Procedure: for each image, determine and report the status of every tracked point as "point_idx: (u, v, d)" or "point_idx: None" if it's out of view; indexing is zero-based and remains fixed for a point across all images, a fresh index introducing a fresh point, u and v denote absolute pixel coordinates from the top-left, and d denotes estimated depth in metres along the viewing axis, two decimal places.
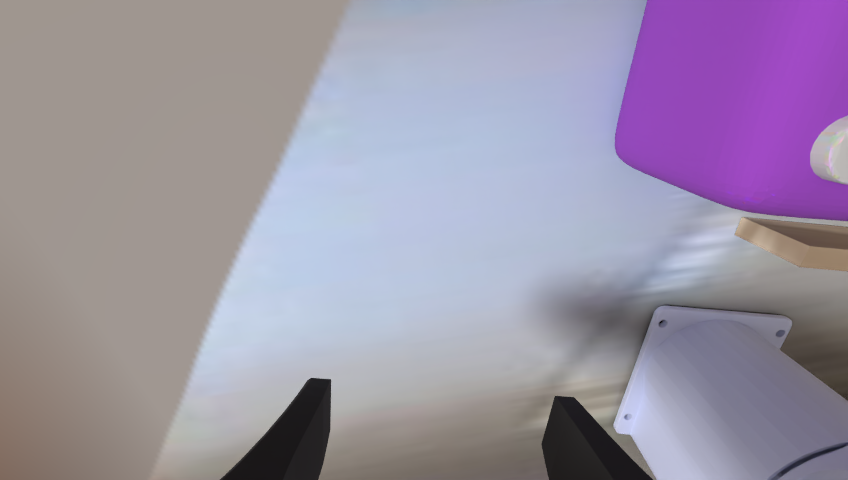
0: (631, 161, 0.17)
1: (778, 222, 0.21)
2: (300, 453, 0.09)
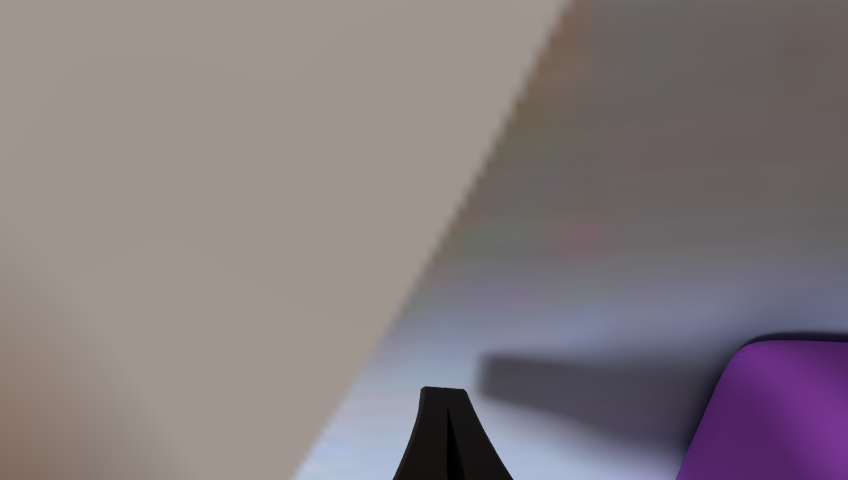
0: None
1: None
2: None
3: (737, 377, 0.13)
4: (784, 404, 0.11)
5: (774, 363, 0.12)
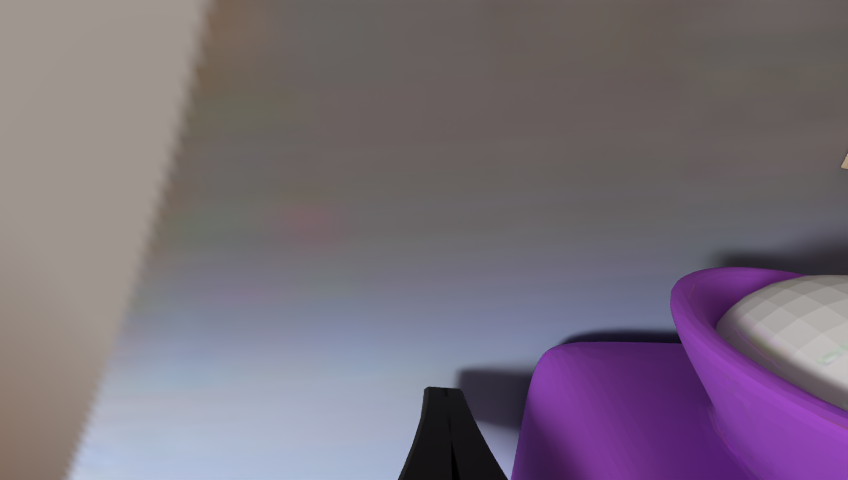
0: None
1: None
2: None
3: (533, 384, 0.12)
4: (553, 416, 0.10)
5: (559, 369, 0.11)
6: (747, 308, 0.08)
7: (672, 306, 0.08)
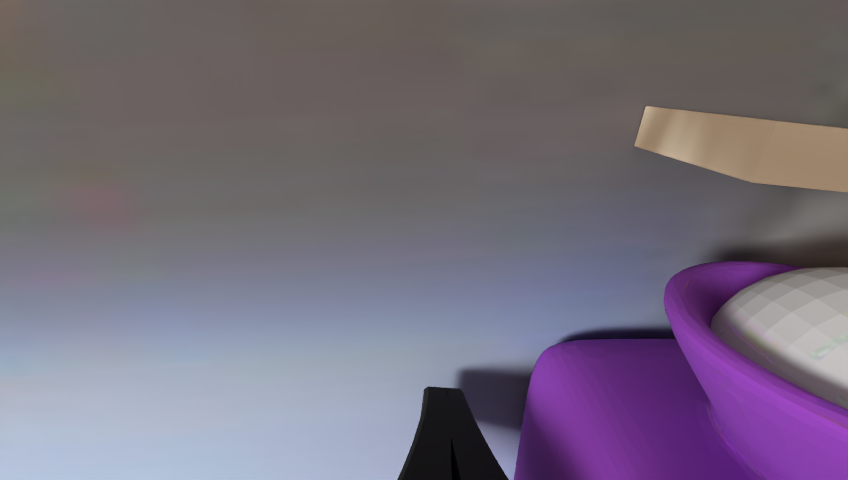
0: None
1: None
2: None
3: (532, 384, 0.12)
4: (551, 416, 0.10)
5: (557, 367, 0.11)
6: (741, 303, 0.08)
7: (665, 303, 0.08)
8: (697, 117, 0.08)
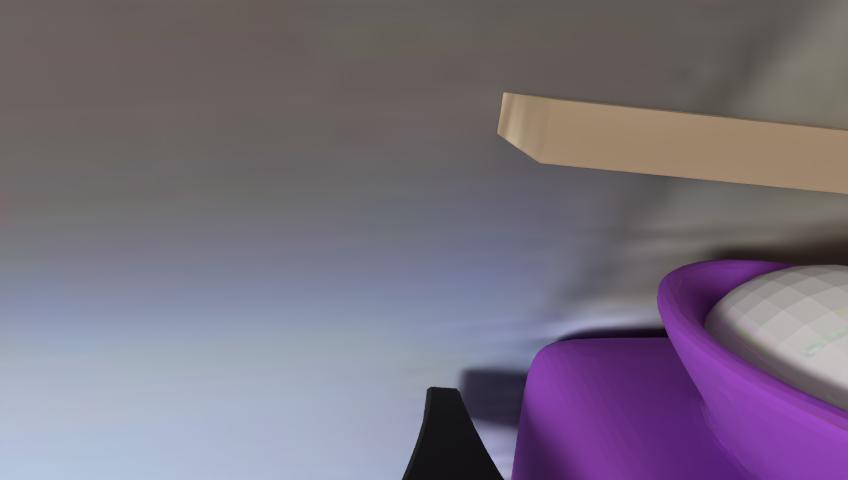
0: None
1: None
2: None
3: (528, 383, 0.12)
4: (547, 414, 0.10)
5: (553, 367, 0.11)
6: (734, 301, 0.08)
7: (658, 301, 0.08)
8: (522, 100, 0.08)
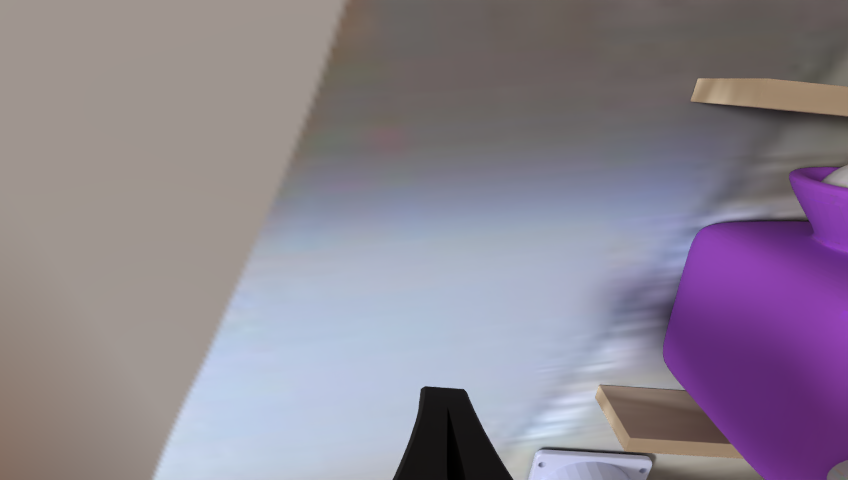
0: (680, 383, 0.22)
1: (627, 391, 0.25)
2: None
3: (696, 247, 0.20)
4: (721, 252, 0.19)
5: (717, 232, 0.19)
6: (832, 176, 0.16)
7: (794, 179, 0.17)
8: (729, 81, 0.17)
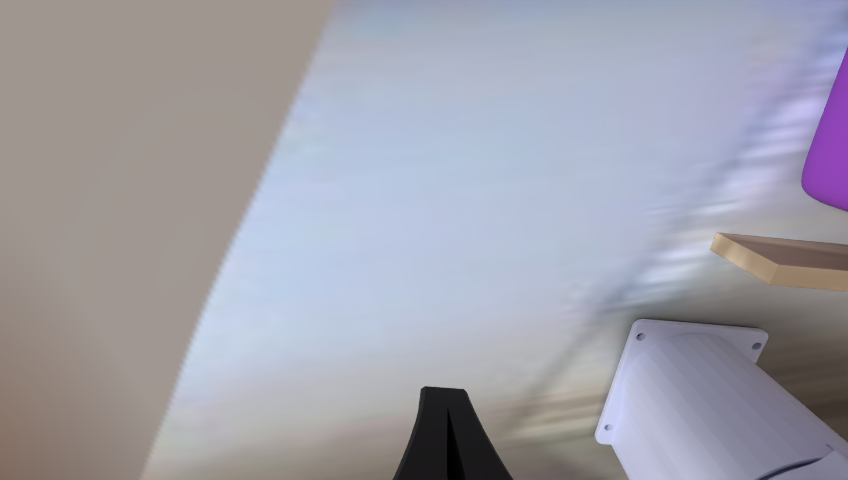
0: (835, 201, 0.18)
1: (752, 238, 0.21)
2: None
3: None
4: None
5: None
6: None
7: None
8: None
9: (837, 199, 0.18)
